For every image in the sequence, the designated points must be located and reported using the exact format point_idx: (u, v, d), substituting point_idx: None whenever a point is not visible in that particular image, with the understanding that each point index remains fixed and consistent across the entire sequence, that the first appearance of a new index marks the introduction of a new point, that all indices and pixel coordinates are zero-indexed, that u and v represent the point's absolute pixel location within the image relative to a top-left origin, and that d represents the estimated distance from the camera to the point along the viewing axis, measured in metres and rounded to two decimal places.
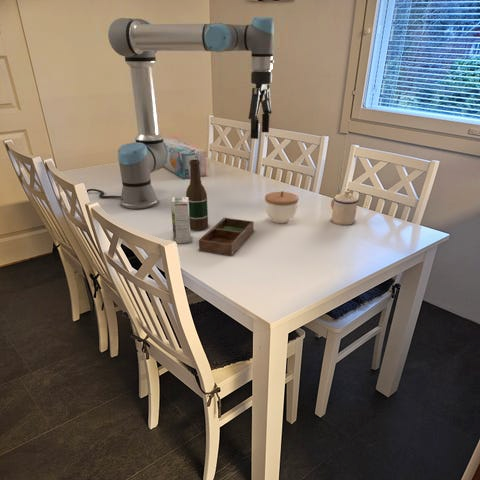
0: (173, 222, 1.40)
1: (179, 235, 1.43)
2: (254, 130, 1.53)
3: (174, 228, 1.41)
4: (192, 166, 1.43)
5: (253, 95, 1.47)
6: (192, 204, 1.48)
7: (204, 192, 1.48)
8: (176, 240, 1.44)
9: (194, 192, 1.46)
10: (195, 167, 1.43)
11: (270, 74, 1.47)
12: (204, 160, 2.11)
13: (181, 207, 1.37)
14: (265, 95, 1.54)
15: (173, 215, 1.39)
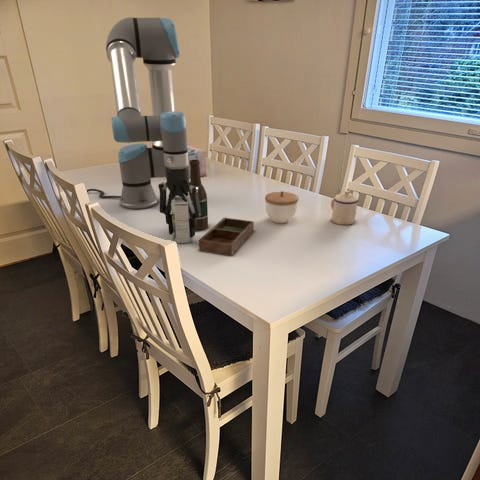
0: (173, 222, 1.40)
1: (179, 235, 1.43)
2: None
3: (174, 228, 1.41)
4: (192, 166, 1.43)
5: None
6: None
7: (204, 192, 1.48)
8: (176, 240, 1.44)
9: None
10: (195, 167, 1.43)
11: (168, 172, 1.31)
12: (204, 160, 2.11)
13: (181, 207, 1.37)
14: None
15: (173, 215, 1.39)
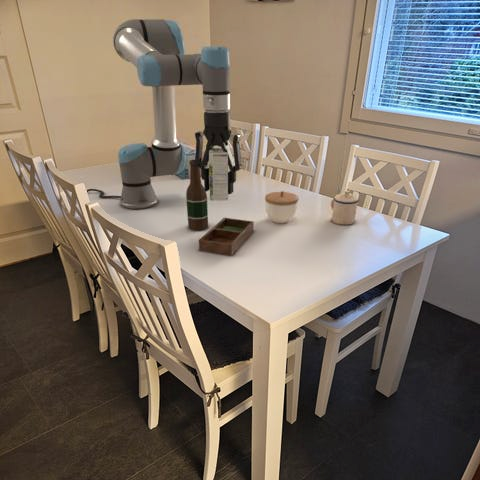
0: (210, 176, 1.26)
1: (217, 191, 1.29)
2: None
3: (211, 183, 1.27)
4: (192, 166, 1.43)
5: None
6: (192, 204, 1.48)
7: (204, 192, 1.48)
8: (213, 197, 1.30)
9: (194, 192, 1.46)
10: (195, 167, 1.43)
11: (208, 116, 1.17)
12: None
13: (220, 158, 1.24)
14: None
15: (211, 168, 1.25)
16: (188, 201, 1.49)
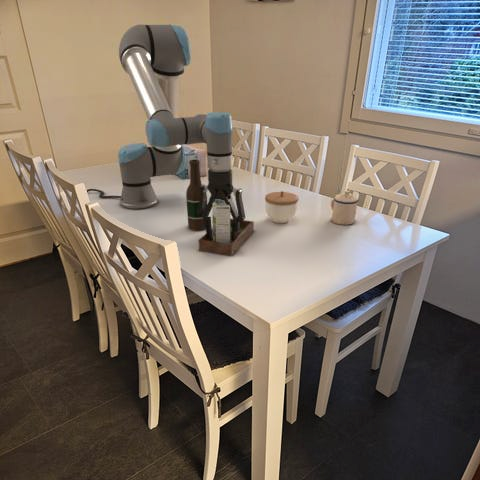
0: (214, 226, 1.35)
1: (219, 239, 1.38)
2: None
3: (214, 232, 1.36)
4: (192, 166, 1.43)
5: None
6: (192, 204, 1.48)
7: None
8: None
9: (194, 192, 1.46)
10: (195, 167, 1.43)
11: (212, 174, 1.26)
12: (204, 160, 2.11)
13: (223, 210, 1.32)
14: None
15: (214, 219, 1.34)
16: (188, 201, 1.49)
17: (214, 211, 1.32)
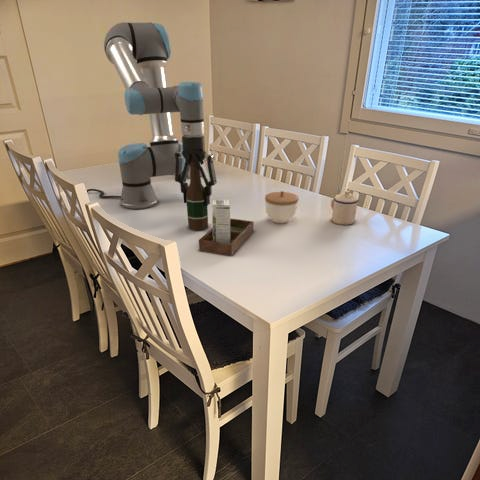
0: (214, 226, 1.35)
1: (219, 239, 1.38)
2: None
3: (214, 232, 1.36)
4: (192, 166, 1.43)
5: None
6: (192, 204, 1.48)
7: None
8: None
9: (194, 192, 1.46)
10: (195, 167, 1.43)
11: (185, 140, 1.37)
12: (204, 160, 2.10)
13: (223, 210, 1.32)
14: None
15: (214, 219, 1.34)
16: (188, 201, 1.49)
17: (214, 211, 1.32)
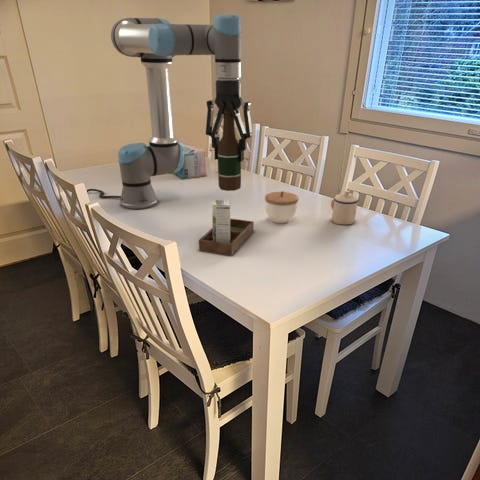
0: (214, 226, 1.35)
1: (219, 239, 1.38)
2: None
3: (214, 232, 1.36)
4: (226, 115, 1.28)
5: None
6: (225, 160, 1.33)
7: (238, 146, 1.33)
8: None
9: (228, 146, 1.31)
10: (229, 116, 1.28)
11: (220, 83, 1.22)
12: (203, 160, 2.10)
13: (223, 210, 1.32)
14: None
15: (214, 219, 1.34)
16: (220, 156, 1.34)
17: (214, 211, 1.32)
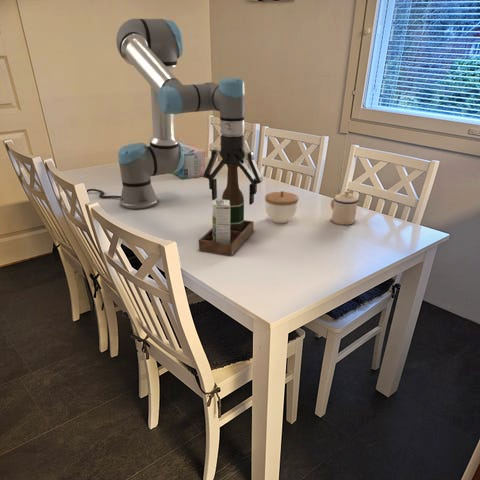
0: (214, 226, 1.35)
1: (219, 239, 1.38)
2: None
3: (214, 232, 1.36)
4: (230, 169, 1.36)
5: None
6: None
7: (241, 196, 1.41)
8: None
9: (232, 196, 1.39)
10: (233, 170, 1.36)
11: (225, 139, 1.30)
12: (203, 160, 2.10)
13: (223, 210, 1.32)
14: None
15: (214, 219, 1.34)
16: None
17: (214, 211, 1.32)
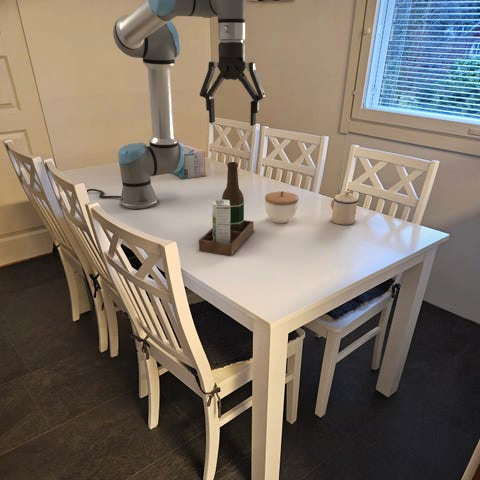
0: (214, 226, 1.35)
1: (219, 239, 1.38)
2: None
3: (214, 232, 1.36)
4: (230, 169, 1.36)
5: None
6: None
7: (241, 196, 1.41)
8: None
9: (232, 196, 1.39)
10: (233, 170, 1.36)
11: (223, 45, 1.16)
12: (203, 160, 2.10)
13: (223, 210, 1.32)
14: None
15: (214, 219, 1.34)
16: None
17: (214, 211, 1.32)
